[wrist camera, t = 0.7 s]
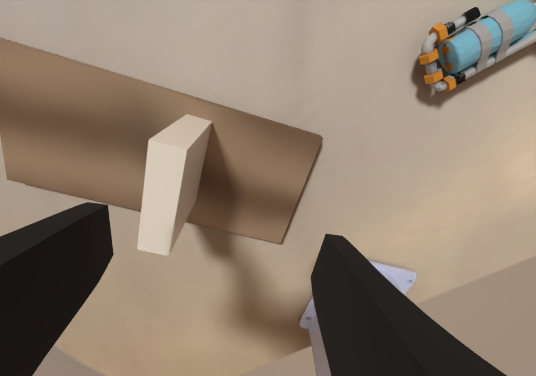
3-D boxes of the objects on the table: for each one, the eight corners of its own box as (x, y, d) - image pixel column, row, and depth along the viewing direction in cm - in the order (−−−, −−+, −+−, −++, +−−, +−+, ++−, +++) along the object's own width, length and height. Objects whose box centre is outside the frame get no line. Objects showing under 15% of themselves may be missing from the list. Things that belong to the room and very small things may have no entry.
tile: (195, 200, 19) (168, 256, 13) (173, 195, 19) (136, 249, 13) (212, 121, 16) (186, 150, 11) (186, 113, 16) (147, 139, 11)
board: (279, 237, 21) (280, 243, 21) (17, 175, 19) (7, 179, 18) (320, 135, 18) (322, 138, 17) (-1, 37, 15) (-15, 35, 14)
